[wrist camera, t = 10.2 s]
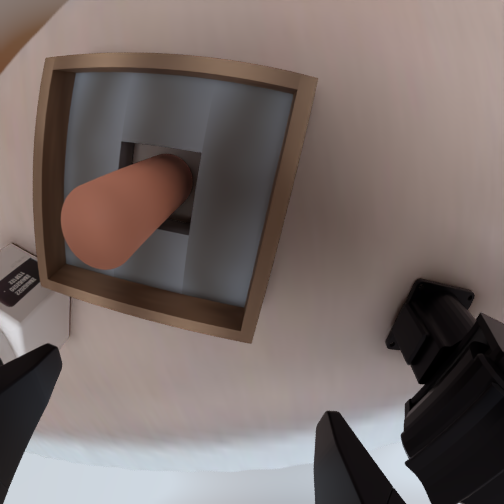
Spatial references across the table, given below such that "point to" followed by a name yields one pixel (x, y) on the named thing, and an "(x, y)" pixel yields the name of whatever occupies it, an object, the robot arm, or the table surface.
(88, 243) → the peg
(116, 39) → the table surface
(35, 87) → the table surface
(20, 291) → the container
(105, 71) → the box
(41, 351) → the robot arm
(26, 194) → the table surface
